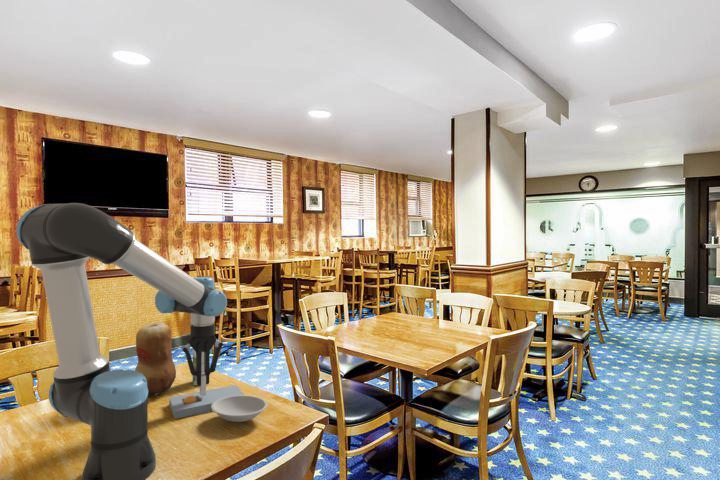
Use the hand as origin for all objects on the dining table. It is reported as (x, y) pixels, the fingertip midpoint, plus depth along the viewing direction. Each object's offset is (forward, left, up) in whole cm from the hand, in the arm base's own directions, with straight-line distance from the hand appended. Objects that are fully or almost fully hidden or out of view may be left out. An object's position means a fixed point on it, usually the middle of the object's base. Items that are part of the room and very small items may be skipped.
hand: (202, 394), depth 136 cm
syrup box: (+22, -4, -4) cm, 23 cm away
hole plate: (0, -2, -4) cm, 4 cm away
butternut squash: (+19, +12, -4) cm, 23 cm away
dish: (-17, -7, -4) cm, 19 cm away
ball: (0, +4, -2) cm, 4 cm away
